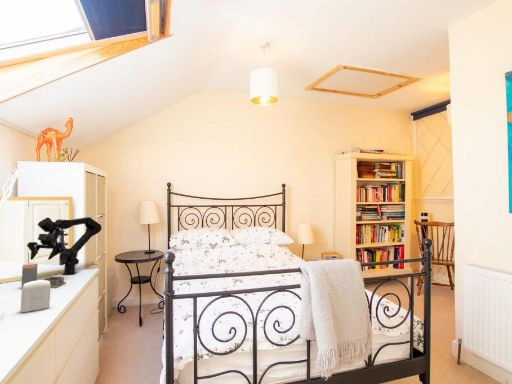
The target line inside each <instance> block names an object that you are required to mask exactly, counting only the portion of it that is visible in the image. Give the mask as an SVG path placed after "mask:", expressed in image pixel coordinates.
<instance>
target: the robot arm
mask: <svg viewBox="0 0 512 384" xmlns="http://www.w3.org/2000/svg"><path fill="white" fill-rule="evenodd" d="M80 225H84V227H85V232H84V233H83V234H82V235H81V236H80V237H79V238H78V240H77V241H76V242H75V243H74V244H73V245H72V246H71V247H70V248H67V247H66V246H65V244H64V242H59V241H58V239H59V238H60V236H64V232H63V230H67V229H71V228H72V227H74V226H80ZM37 226H38V227H39V229H41V230H42V231H44V232H45V233H39V234H38V237H37V240H39V242H40V244H39V243H38V242H36V241H29V242H28V243H27V244H26V247H27V248H28V249H29V252H30V260H33V259H34V258H35V257H36V256H37V255H38V253H39V251H40V249H51V250H52V251H51V252H50V254H49V256H48V258H47V259H48V260H47V261H50V260H51V259H53V258H54V257H56V256H58V255H59V254H60V255H59V261H60V262H61V265H64V270H63V273H62V274H61V275H62V276H65V275H66V276H67V275H69V276H70V275H72V276H73V275H75V274H77V271H76V265H78V264H79V262H80V260H79V259H78V254H79V251H80V250H81V249H82V248H83V247H84V246H85V245H86V244H87V243H88V241H89V240H90V239H92V237H93V236H95V235H97V234H99V233H100V232H101V231H102V228H103V227H102V225H101V223H99V222H98V221H96V220H94V219H93V218H92V217H91V216H90V217H87V216H84V217H80V218H72V219H56V220H55V221H53V220H52V219H51V218H50V217H45V218H44V219H41V220H40V221H39V222H38V223H37Z"/></svg>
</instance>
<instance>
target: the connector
mask: <svg viewBox="0 0 512 384" xmlns="http://www.w3.org/2000/svg"><path fill="white" fill-rule="evenodd" d="M38 264H39V263H35V262H34V263H31V262H30V263H25V264H22V269H21V270H22V271H21V272H22V273H21V289H22V287H23V284H25V283H28V282H31V281H37V280H38Z"/></svg>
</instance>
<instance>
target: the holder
mask: <svg viewBox="0 0 512 384" xmlns="http://www.w3.org/2000/svg"><path fill="white" fill-rule="evenodd" d="M43 280H47V281H50V285H51V289H57V288H58V289H59V288H60V287H62V286H64V285H66V283H67V281H65V277H64V276H49V277H46V278H44V279H43Z"/></svg>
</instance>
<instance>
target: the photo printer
mask: <svg viewBox="0 0 512 384" xmlns="http://www.w3.org/2000/svg"><path fill="white" fill-rule="evenodd" d="M21 287H22V286H21ZM51 289H52V288H51V285H50V281H47V280H44V279H37V281H31V282H28V283H25V284H23V287H22V290H21V295H20V297H21V298H20V299H21V300H20V311H19V312H21V313H27V312H28V313H29V312H33V311H39V310H44V309H45V310H46V309H49V308H50V303H51Z"/></svg>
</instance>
